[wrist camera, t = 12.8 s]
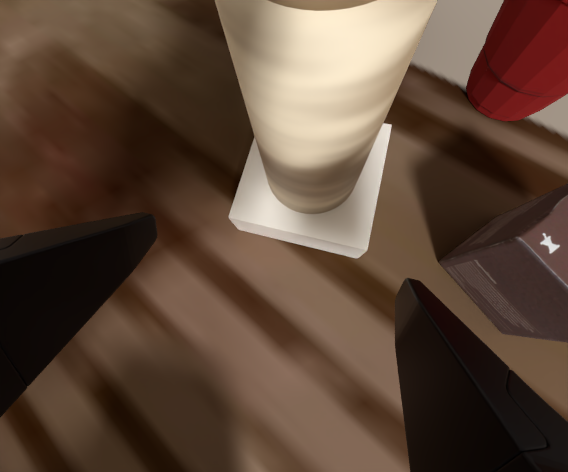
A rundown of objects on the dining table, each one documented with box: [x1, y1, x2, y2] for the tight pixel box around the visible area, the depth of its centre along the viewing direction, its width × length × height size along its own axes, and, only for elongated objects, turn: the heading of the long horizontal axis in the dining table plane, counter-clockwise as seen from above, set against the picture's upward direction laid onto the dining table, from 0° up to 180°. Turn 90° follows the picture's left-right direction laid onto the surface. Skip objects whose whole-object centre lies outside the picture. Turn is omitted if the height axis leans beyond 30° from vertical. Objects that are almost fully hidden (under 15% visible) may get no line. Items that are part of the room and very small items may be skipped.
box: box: [439, 184, 568, 342], centre depth 15 cm, size 6×6×7 cm
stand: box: [228, 123, 392, 258], centre depth 19 cm, size 9×9×3 cm
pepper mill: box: [215, 0, 438, 214], centre depth 11 cm, size 6×6×15 cm
